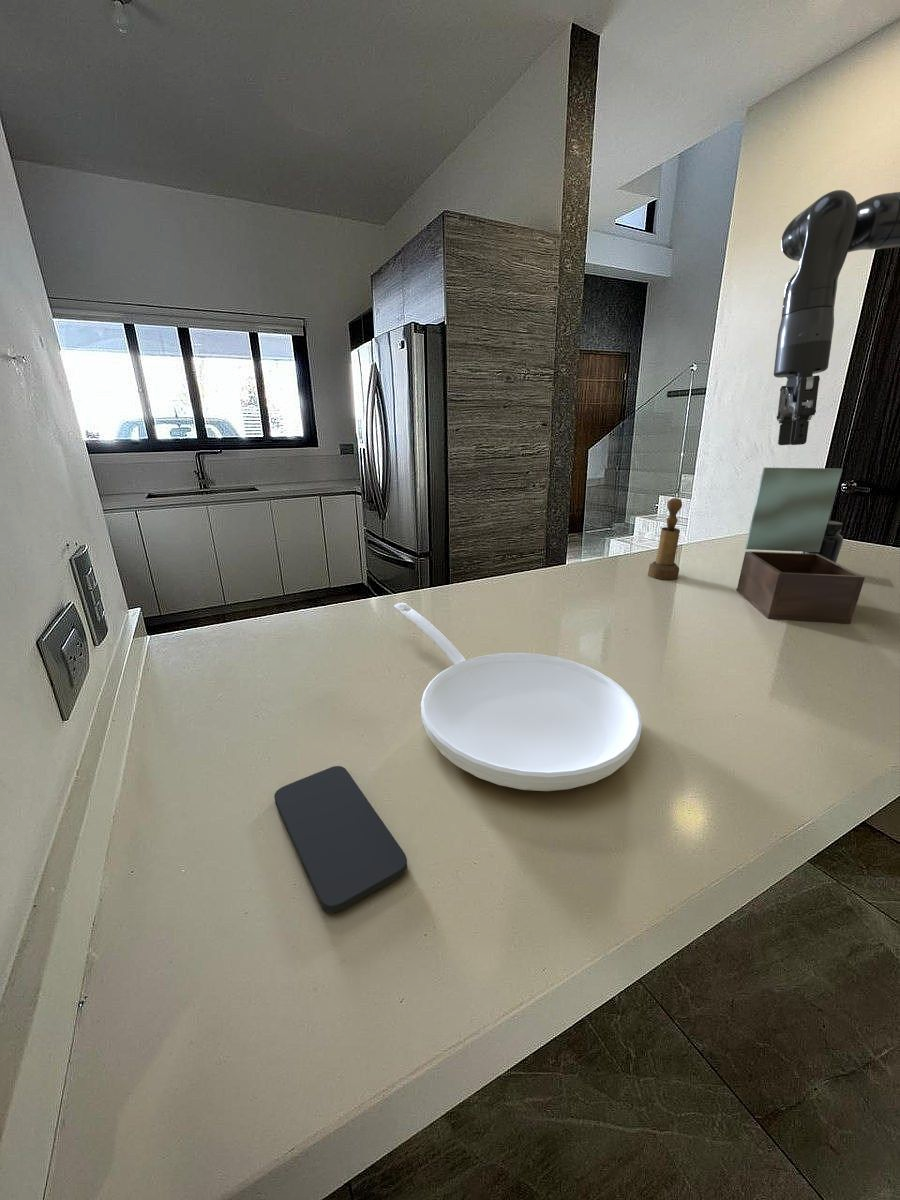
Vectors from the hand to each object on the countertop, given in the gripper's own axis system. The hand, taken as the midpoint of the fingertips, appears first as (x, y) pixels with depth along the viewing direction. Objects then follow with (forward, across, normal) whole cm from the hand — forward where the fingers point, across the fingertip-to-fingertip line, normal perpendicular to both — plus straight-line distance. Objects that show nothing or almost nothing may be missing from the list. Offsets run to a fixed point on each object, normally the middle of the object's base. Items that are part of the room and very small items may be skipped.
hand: (791, 444), depth 85 cm
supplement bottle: (+30, +32, -15) cm, 46 cm away
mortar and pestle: (+28, +15, +19) cm, 37 cm away
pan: (+29, -50, +43) cm, 72 cm away
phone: (+30, -77, +48) cm, 95 cm away
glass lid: (+13, +9, -4) cm, 16 cm away
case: (+31, +3, -4) cm, 31 cm away
